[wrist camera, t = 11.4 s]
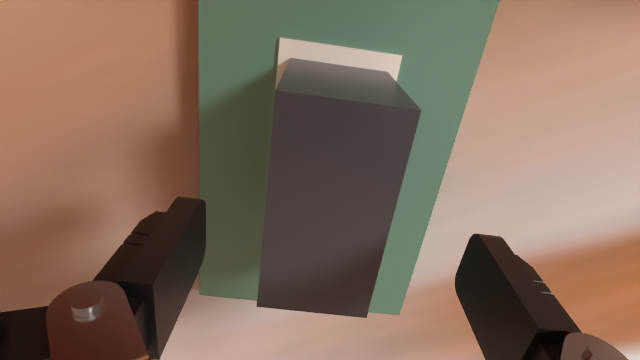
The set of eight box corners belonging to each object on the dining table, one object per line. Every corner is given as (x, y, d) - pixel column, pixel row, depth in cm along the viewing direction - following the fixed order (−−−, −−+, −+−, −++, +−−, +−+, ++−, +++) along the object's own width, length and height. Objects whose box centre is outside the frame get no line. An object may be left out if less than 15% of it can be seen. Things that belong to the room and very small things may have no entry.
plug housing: (290, 57, 16) (275, 89, 10) (387, 71, 16) (421, 110, 11) (274, 220, 19) (256, 306, 14) (353, 229, 20) (366, 317, 14)
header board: (208, -121, 14) (169, -162, 11) (505, -71, 15) (566, -92, 11) (206, 277, 23) (184, 331, 20) (394, 297, 24) (408, 353, 20)
